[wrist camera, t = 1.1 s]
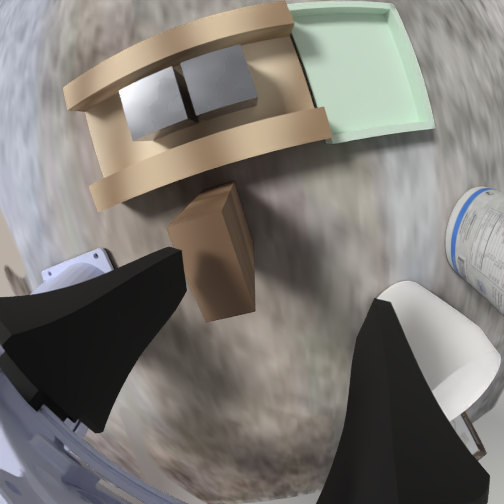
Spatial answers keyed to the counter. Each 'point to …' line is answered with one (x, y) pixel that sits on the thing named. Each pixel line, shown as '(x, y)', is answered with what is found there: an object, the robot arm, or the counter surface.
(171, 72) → the grey cube
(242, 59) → the dark grey cube
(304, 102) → the slot board
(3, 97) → the counter surface
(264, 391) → the counter surface
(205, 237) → the brown wooden block
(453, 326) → the cup
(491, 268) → the supplement tub
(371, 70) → the tray
